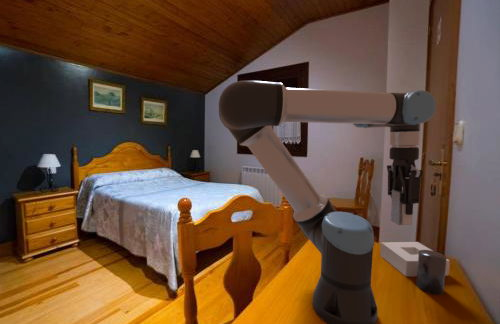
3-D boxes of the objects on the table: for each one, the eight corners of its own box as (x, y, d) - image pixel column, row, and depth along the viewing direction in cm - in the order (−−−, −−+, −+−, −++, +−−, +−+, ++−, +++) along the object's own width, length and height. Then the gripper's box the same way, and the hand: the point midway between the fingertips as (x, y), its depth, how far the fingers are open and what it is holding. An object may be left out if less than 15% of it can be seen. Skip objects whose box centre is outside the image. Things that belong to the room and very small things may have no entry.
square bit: (398, 225, 74) (399, 192, 73) (390, 220, 78) (391, 189, 77) (411, 224, 75) (413, 192, 74) (403, 220, 78) (404, 189, 78)
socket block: (405, 276, 77) (406, 261, 77) (380, 255, 91) (380, 242, 91) (448, 275, 78) (449, 260, 77) (416, 254, 92) (417, 241, 91)
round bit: (427, 295, 68) (430, 260, 67) (411, 281, 74) (413, 249, 74) (449, 294, 68) (452, 260, 67) (431, 281, 75) (434, 249, 74)
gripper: (438, 147, 66) (434, 231, 68) (398, 145, 83) (396, 213, 85) (410, 148, 66) (407, 232, 68) (376, 145, 83) (375, 213, 85)
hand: (401, 221), depth 76 cm, fingers closed on square bit, 4 cm apart
